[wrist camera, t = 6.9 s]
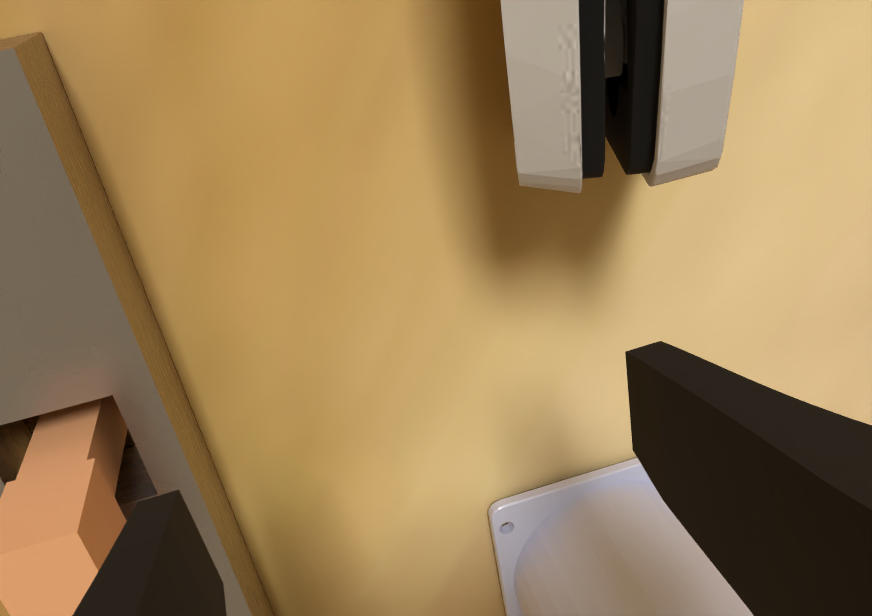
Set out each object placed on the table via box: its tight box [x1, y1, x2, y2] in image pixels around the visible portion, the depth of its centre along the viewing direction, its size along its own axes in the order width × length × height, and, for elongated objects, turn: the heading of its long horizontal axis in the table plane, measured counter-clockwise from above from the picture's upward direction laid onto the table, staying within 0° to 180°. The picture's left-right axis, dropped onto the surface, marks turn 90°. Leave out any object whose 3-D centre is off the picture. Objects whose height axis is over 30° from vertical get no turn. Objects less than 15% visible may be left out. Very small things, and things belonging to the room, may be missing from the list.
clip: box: [0, 395, 128, 616], centre depth 20 cm, size 7×2×6 cm, turn 9°
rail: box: [0, 32, 274, 616], centre depth 21 cm, size 24×5×2 cm, turn 9°
